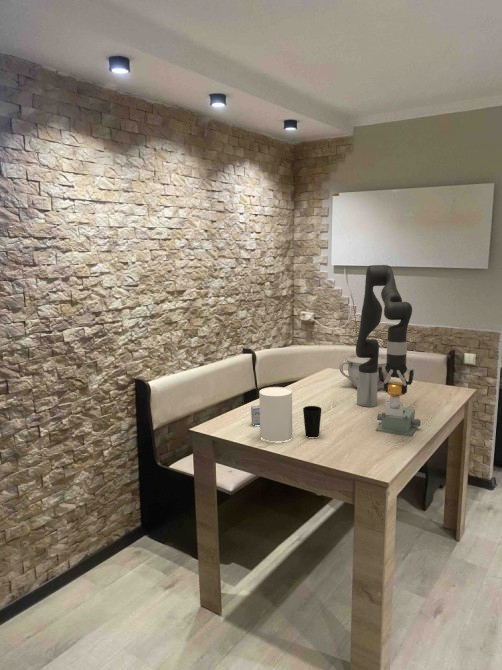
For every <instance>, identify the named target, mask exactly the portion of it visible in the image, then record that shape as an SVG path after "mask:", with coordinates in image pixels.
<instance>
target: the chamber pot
mask: <svg viewBox="0 0 502 670" xmlns="http://www.w3.org/2000/svg"><path fill="white" fill-rule="evenodd" d="M369 360H370V358H359V357H357V355H356V353H353V354H350V355H347V356H346V357H345V359H344V360H342V361H341V362H340V364H339V369H338V370H339V372H340V374H341V375H342V376H343V377H345V378H347V379H348V380H349V381H350V383H351V384H353V386H354V387H356V388H357V386H358V384H359V365H361V364H363V363H365V362H367V361H369ZM386 361H387V354H386V353H385V354H384V353H379V356H378V368H379V367H380V366H382V367H383V366H386ZM345 364H346V365H347V374H348V375H347V374H346V373H345V372H344V370H343V367H344V365H345ZM387 375H388V373H387V371H386V370H384V372H383V376H384V379H386V377H387ZM391 379H392V377H390V379H389V381H388V383H389V382H391ZM381 389H384V383H383V382H381V381H379V372H378V377H377V391H379V390H381Z"/></svg>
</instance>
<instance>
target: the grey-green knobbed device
mask: <svg viewBox="0 0 502 670" xmlns="http://www.w3.org/2000/svg"><path fill="white" fill-rule="evenodd" d="M415 417H416V408H412V407H404V406H403V419H398V418H390V417H386V410H385V411H383V412H381V413H377V417H376V419H377V421H380V422H381V423H380V424H379V425H378V426H377V427H376V429H375V431H376V432H380V433H387V434H392V435H393V434H394V435H400V436H406V437H413V435H414V434H415V432H416V430H417V429H418V427H420V426H421V424H422V423H421V419H419V418H415Z"/></svg>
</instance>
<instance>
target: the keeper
mask: <svg viewBox="0 0 502 670" xmlns="http://www.w3.org/2000/svg"><path fill="white" fill-rule="evenodd" d="M384 404H385V405H384V406H385V411H386V417H390V418H398V419H403V407H404V405H403V404H404V403H403V402H400V409H391V408H390V400H385V403H384Z"/></svg>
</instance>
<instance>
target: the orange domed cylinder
mask: <svg viewBox="0 0 502 670" xmlns="http://www.w3.org/2000/svg"><path fill="white" fill-rule="evenodd" d="M402 393H403V383H402V381H401V382H400V381H389V383H387V395H389V396H390V399H389V401H390V408H391V409H400V403H401V396H403V394H402Z"/></svg>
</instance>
